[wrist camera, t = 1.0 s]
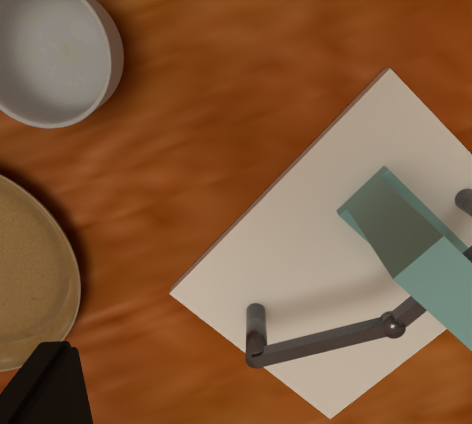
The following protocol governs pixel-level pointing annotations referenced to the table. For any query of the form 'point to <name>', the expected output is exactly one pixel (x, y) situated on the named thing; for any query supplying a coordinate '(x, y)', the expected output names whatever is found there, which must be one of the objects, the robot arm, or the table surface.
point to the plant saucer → (33, 276)
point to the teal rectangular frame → (415, 249)
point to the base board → (332, 245)
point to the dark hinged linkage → (384, 326)
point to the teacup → (57, 60)
